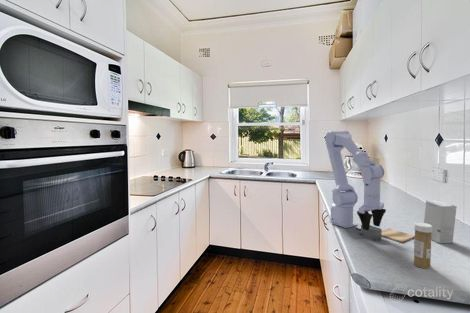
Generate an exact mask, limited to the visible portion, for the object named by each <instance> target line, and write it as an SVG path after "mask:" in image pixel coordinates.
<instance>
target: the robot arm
mask: <svg viewBox="0 0 470 313" xmlns="http://www.w3.org/2000/svg"><path fill="white" fill-rule="evenodd" d="M352 136H353V135H352V134H350V131H349V130H329V131H327V132H326V135H325V137H324V140H325V146H326V149H327V152H328V157H329V160H330V161H329V162H330V165H331V170H332V175H333V178H334V181H335V187H334V188H333V189H332V191H331V192H332V202H333V204H332V205H331V207H330V221H329V223H330V224H332V225H336V226H338V227H342V228H345V229H348V228H352V227H355V226H358V224H357V223H356V222H354V207H356V204H357V202H358V199H359V197H358V195H357V192H356V190H355V188H354V187H353V186H352V185H351V184H349V181H348V177H347V173H346V169H345V166H344V161H343V157H342V154H341V152H342V150H344V149H346V150H347V151H348V153H349V154H351V156H353V157H352V160H353V162H354V164H355V165H356V166H357V168H359V170H360V175H361V178H362V182H363V189H364V190H363V204H362V205H361V206H360V207H358V210H357V211H356V214H357V216H358V217H359V220H360V223H361V225H362V227H363V229H364V230H369V227H370V225H371V220H372V223H373V224H372V225H373V226H374V227H377V228H380V226H381V223H382V219H383V217H384V215H385V213H386V212H387V209H385V203H383V202H381V180H382V178H384V175H385V170H384V167H383V166H382V165H381V164H379V163H378V164H377V163H376V162H375V161H374V160H373V159H371V158H370V156H369V154H368V152H366V151H361V150H360V148H358V146H357V145H356V142H354V140H353V138H352ZM369 212H371V213H369Z"/></svg>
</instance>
